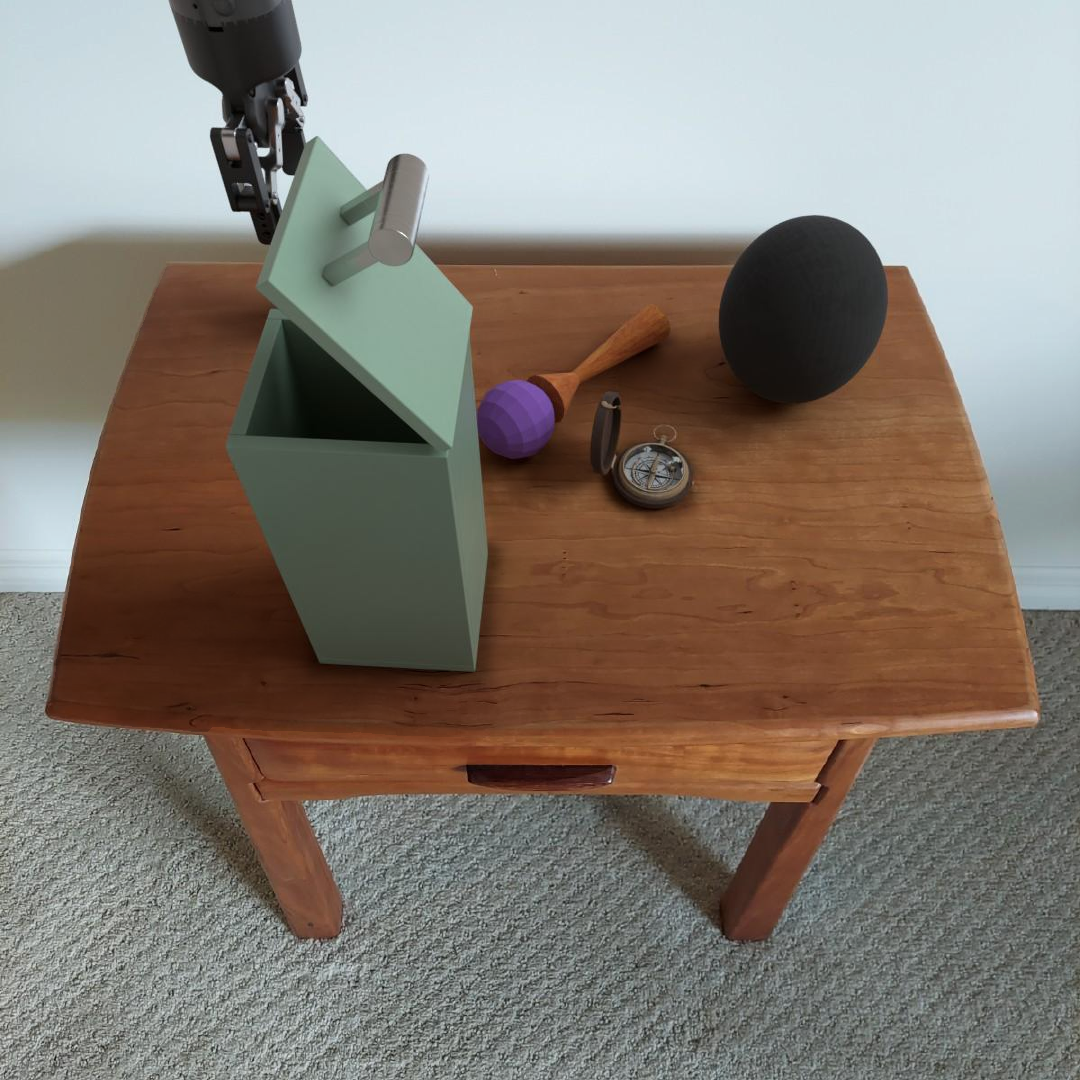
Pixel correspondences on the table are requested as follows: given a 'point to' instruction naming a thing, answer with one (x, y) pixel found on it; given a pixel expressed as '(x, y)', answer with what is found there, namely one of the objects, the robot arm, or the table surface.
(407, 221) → the bin lid
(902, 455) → the table surface
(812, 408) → the table surface
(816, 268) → the decorative egg
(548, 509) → the table surface
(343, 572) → the trash can
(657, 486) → the compass
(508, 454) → the kendama
